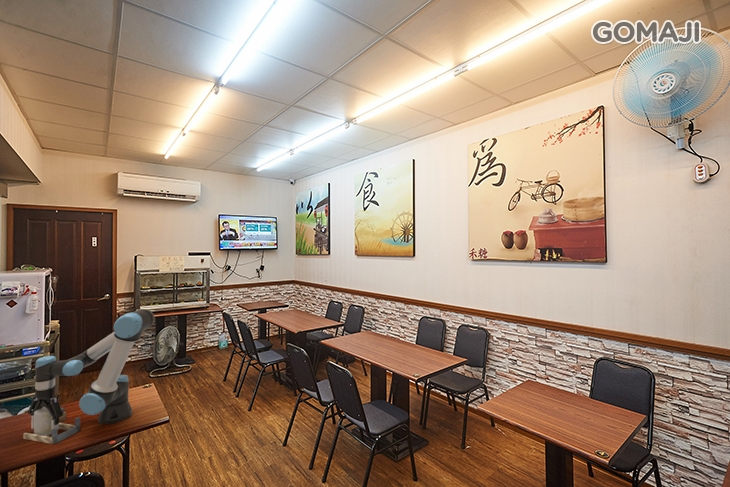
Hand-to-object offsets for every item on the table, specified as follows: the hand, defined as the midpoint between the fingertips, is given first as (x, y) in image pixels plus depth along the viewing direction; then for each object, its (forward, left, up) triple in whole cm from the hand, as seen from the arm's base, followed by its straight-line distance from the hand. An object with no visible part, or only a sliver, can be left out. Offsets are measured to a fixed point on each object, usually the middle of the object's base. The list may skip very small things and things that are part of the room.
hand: (45, 429), depth 170 cm
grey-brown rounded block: (+8, -11, -2) cm, 14 cm away
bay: (-5, 0, -2) cm, 5 cm away
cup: (0, 0, -2) cm, 2 cm away
